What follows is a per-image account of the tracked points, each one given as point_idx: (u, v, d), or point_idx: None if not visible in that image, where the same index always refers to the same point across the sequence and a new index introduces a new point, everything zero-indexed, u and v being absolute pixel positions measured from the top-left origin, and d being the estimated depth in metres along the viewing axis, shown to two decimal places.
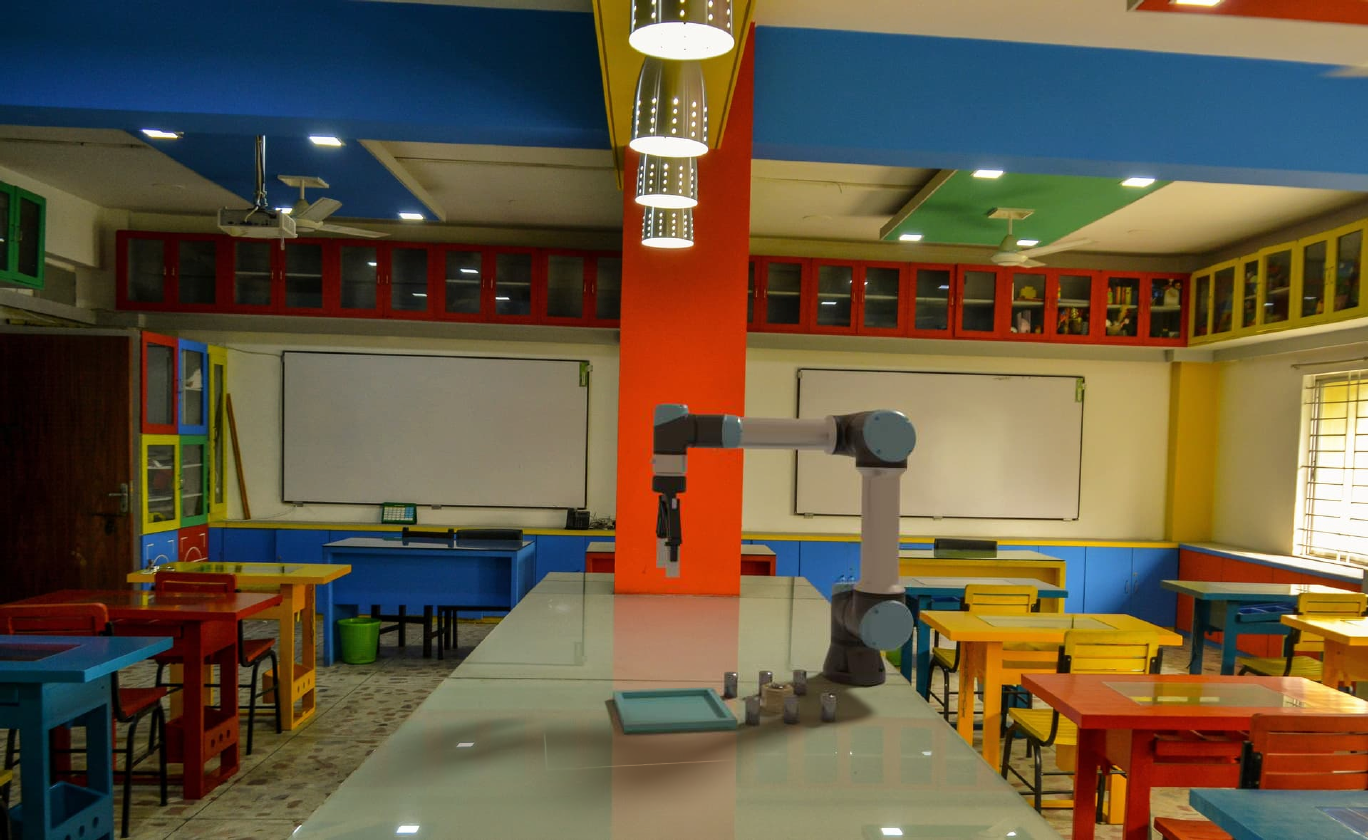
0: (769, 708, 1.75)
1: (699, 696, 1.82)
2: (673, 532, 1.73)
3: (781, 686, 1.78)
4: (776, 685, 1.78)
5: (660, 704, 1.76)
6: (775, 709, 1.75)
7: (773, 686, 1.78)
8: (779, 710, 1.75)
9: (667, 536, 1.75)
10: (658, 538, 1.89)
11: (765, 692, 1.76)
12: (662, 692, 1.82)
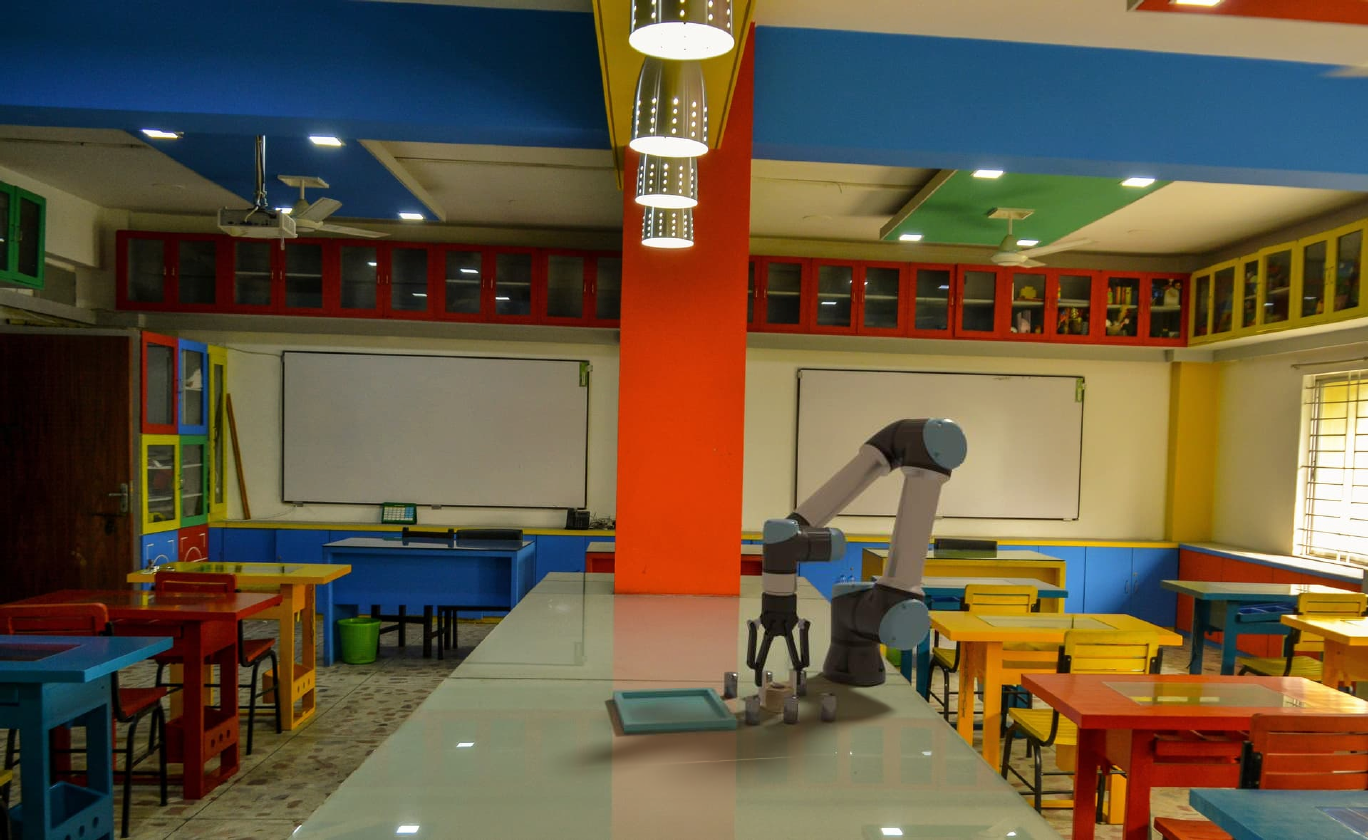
0: (769, 708, 1.75)
1: (699, 696, 1.82)
2: (748, 656, 1.77)
3: (781, 686, 1.78)
4: (776, 685, 1.78)
5: (660, 704, 1.76)
6: (775, 709, 1.75)
7: (773, 686, 1.78)
8: (779, 710, 1.75)
9: None
10: (792, 668, 1.80)
11: None
12: (662, 692, 1.82)
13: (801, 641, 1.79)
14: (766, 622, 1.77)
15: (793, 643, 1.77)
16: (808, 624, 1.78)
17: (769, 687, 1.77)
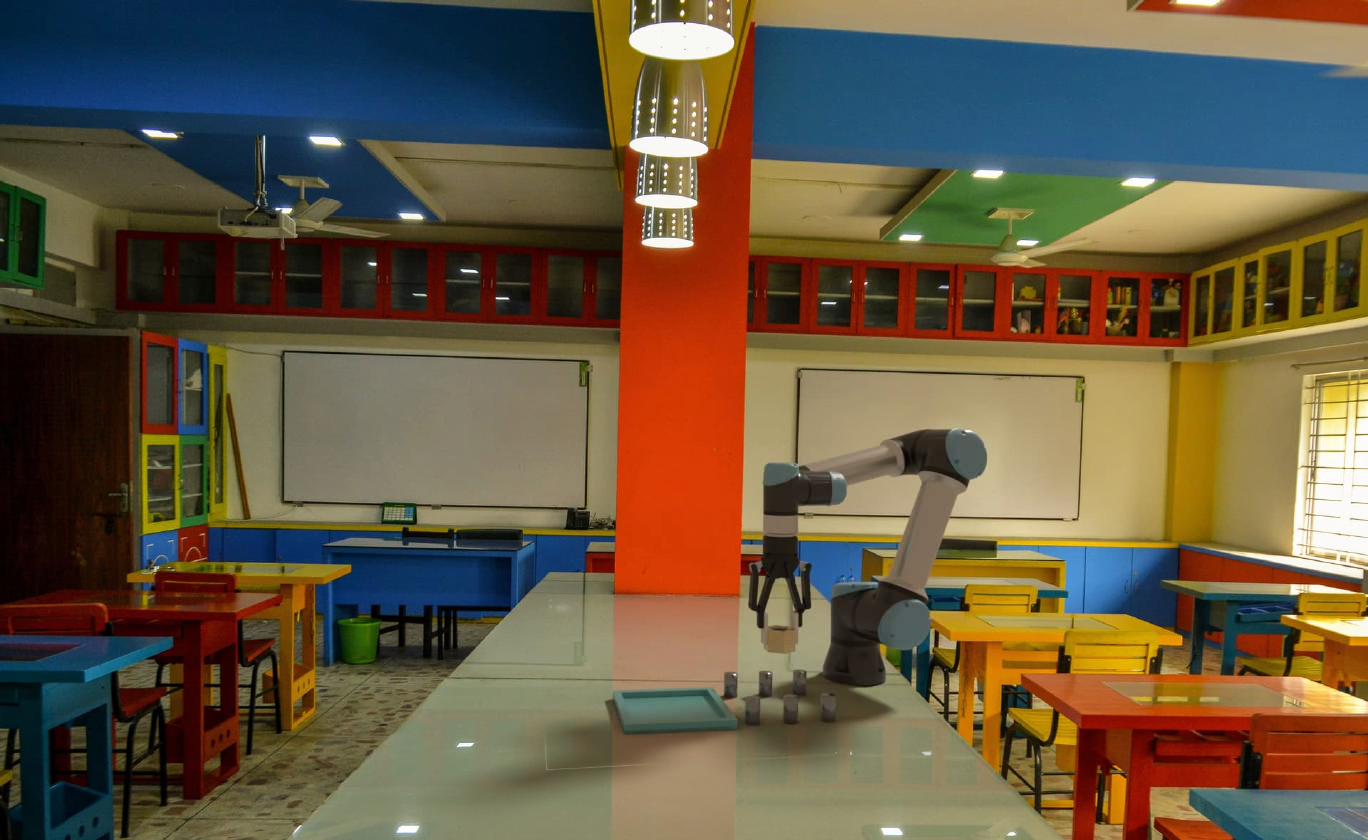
0: (771, 649, 1.76)
1: (699, 696, 1.82)
2: (749, 598, 1.78)
3: (783, 628, 1.78)
4: (778, 627, 1.79)
5: (660, 704, 1.76)
6: (777, 650, 1.75)
7: (775, 628, 1.78)
8: (781, 651, 1.75)
9: None
10: None
11: None
12: (662, 692, 1.82)
13: (803, 583, 1.79)
14: (767, 564, 1.77)
15: (794, 585, 1.78)
16: (809, 566, 1.79)
17: (771, 629, 1.77)
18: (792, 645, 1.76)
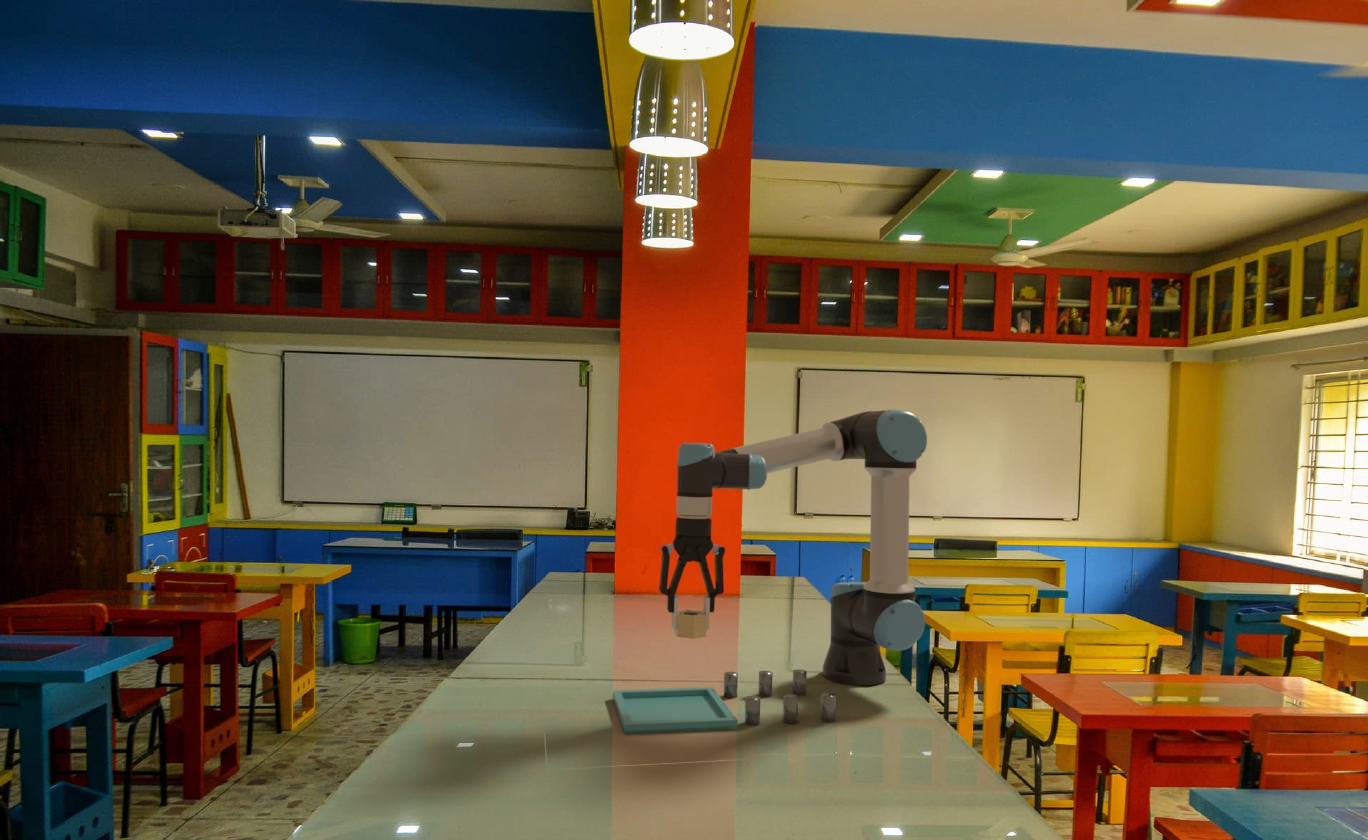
0: (680, 634, 1.71)
1: (699, 696, 1.82)
2: (660, 581, 1.73)
3: (694, 612, 1.74)
4: (689, 611, 1.74)
5: (660, 704, 1.76)
6: (686, 634, 1.71)
7: (686, 612, 1.74)
8: (690, 635, 1.70)
9: None
10: (706, 595, 1.76)
11: None
12: (662, 692, 1.82)
13: (716, 567, 1.75)
14: (679, 547, 1.73)
15: (707, 569, 1.73)
16: (723, 550, 1.74)
17: (682, 613, 1.73)
18: (702, 629, 1.72)
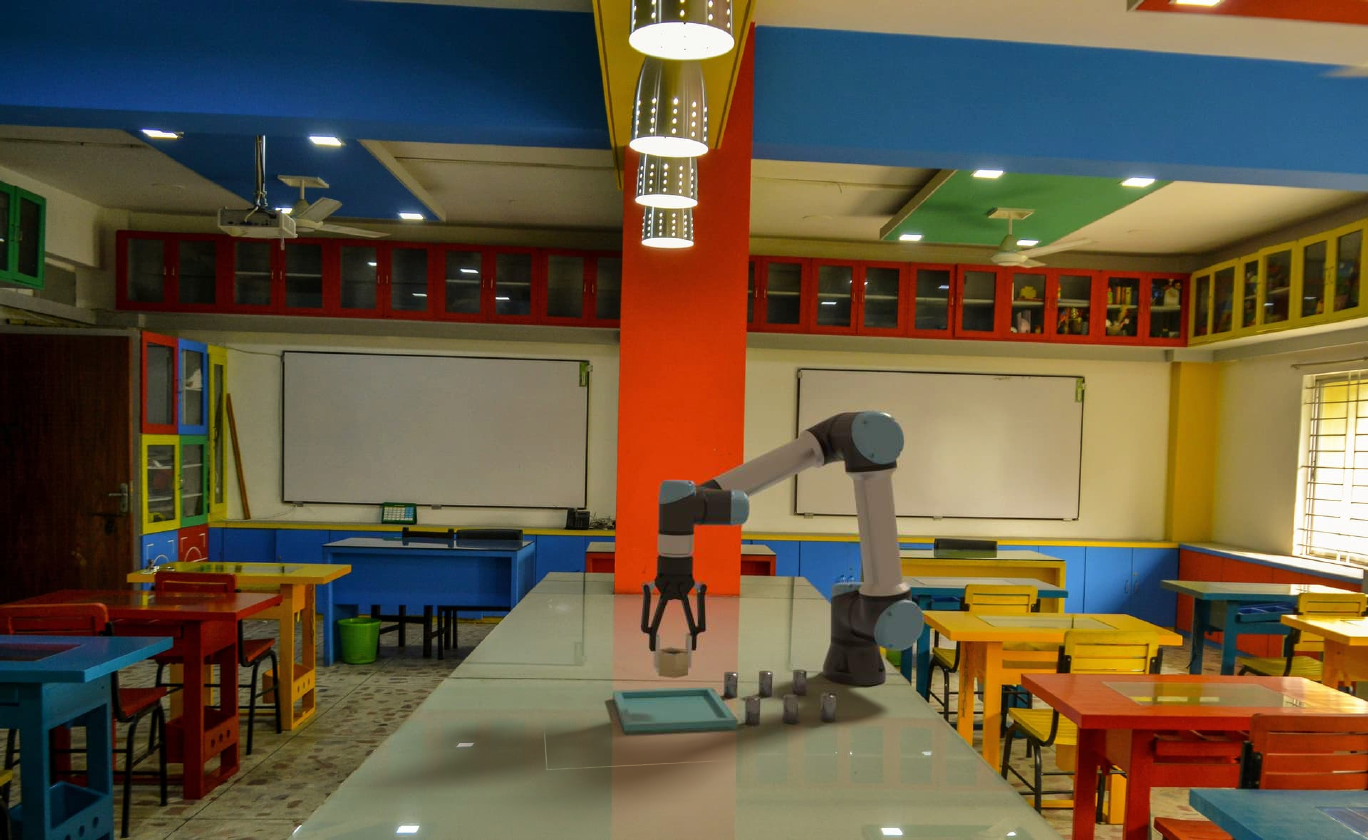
0: (662, 673, 1.70)
1: (699, 696, 1.82)
2: (641, 620, 1.72)
3: (676, 651, 1.73)
4: (671, 650, 1.73)
5: (660, 704, 1.76)
6: (668, 674, 1.70)
7: (668, 651, 1.73)
8: (672, 675, 1.69)
9: None
10: (688, 633, 1.75)
11: (659, 656, 1.71)
12: (662, 692, 1.82)
13: (698, 605, 1.74)
14: (660, 585, 1.72)
15: (689, 607, 1.72)
16: (704, 588, 1.73)
17: (663, 652, 1.72)
18: (684, 668, 1.71)
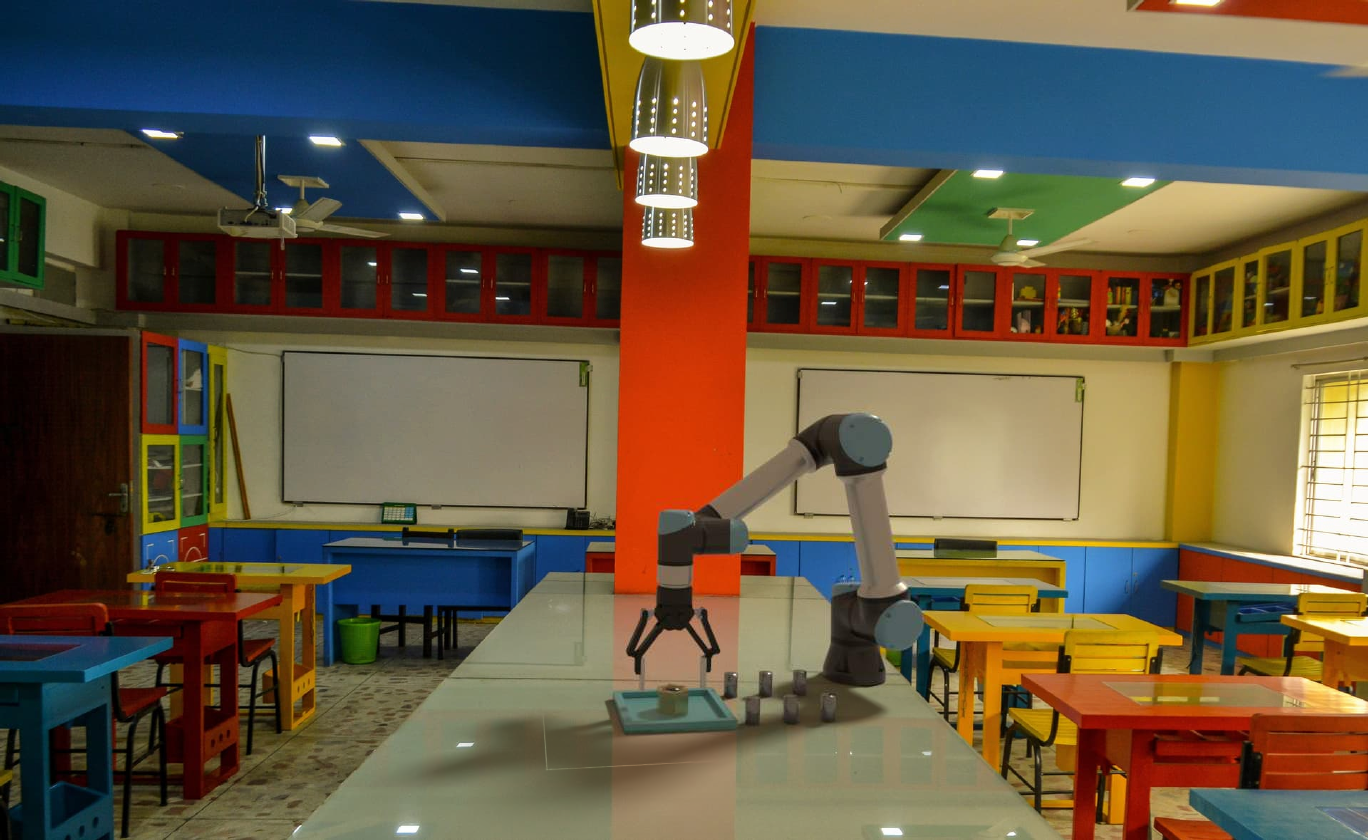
0: (662, 710, 1.70)
1: (699, 696, 1.82)
2: (629, 642, 1.72)
3: (676, 688, 1.72)
4: (671, 687, 1.73)
5: None
6: (668, 711, 1.70)
7: (668, 688, 1.72)
8: (672, 712, 1.69)
9: None
10: (703, 655, 1.75)
11: (659, 694, 1.71)
12: None
13: (705, 630, 1.74)
14: (659, 615, 1.71)
15: (695, 633, 1.73)
16: (705, 612, 1.73)
17: (663, 689, 1.72)
18: (684, 706, 1.71)
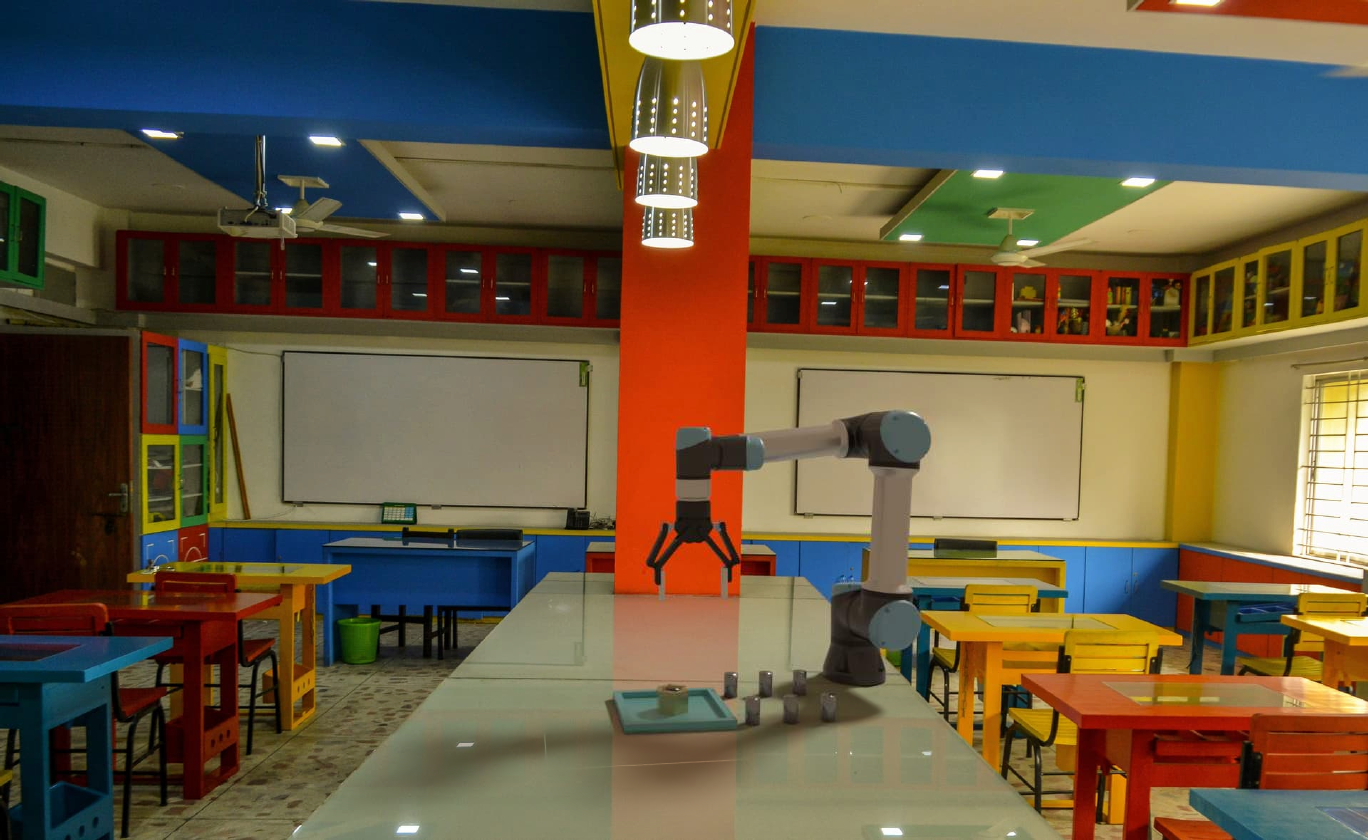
0: (662, 710, 1.70)
1: (699, 696, 1.82)
2: (649, 554, 1.76)
3: (676, 688, 1.72)
4: (671, 687, 1.73)
5: None
6: (668, 711, 1.70)
7: (668, 688, 1.72)
8: (672, 712, 1.69)
9: None
10: (723, 566, 1.80)
11: (659, 694, 1.71)
12: None
13: (724, 542, 1.79)
14: (679, 529, 1.76)
15: (715, 545, 1.77)
16: (723, 524, 1.78)
17: (663, 689, 1.72)
18: (684, 706, 1.71)
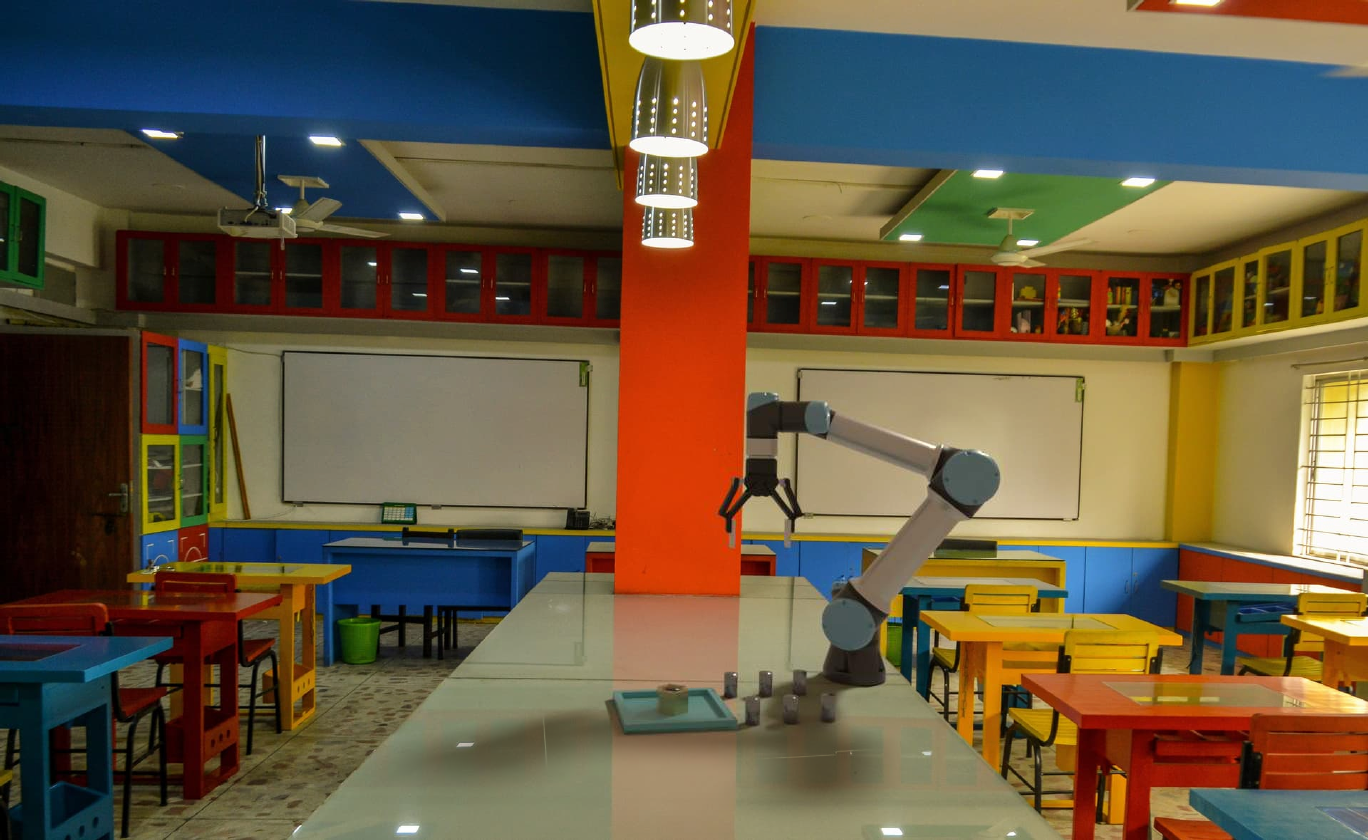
0: (662, 710, 1.70)
1: (699, 696, 1.82)
2: (722, 505, 1.96)
3: (676, 688, 1.72)
4: (671, 687, 1.73)
5: None
6: (668, 711, 1.70)
7: (668, 688, 1.72)
8: (672, 712, 1.69)
9: None
10: (787, 519, 2.00)
11: (659, 694, 1.71)
12: None
13: (788, 497, 1.99)
14: (749, 483, 1.96)
15: (780, 499, 1.97)
16: (788, 481, 1.98)
17: (663, 689, 1.72)
18: (684, 706, 1.71)
